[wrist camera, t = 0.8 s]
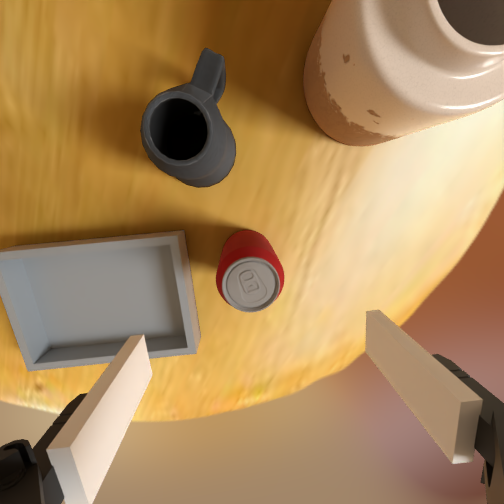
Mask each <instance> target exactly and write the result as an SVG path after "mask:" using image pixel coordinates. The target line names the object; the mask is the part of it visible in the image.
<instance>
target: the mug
mask: <svg viewBox="0 0 504 504" xmlns="http://www.w3.org/2000/svg"><path fill="white" fill-rule="evenodd" d="M225 82H226V71H225V60H224V57H223V56H222V55H220V54H217V53H214V52H213V51H212V50H210V49H208V48H204V50H203V51H202V53H201V56H200V58H199V60H198V63H197V65H196V68H195V71H194V74H193V77H192V80H191V82H190V83H186V84H183V85H180V86H177V87H173V88H170V89H168V90H166V91H164V92H161V93H159V94H158V95H157V96H156V97H155V98H154V99H153V100H152V101H151V102H150V103H149V104H148V106H147V108H146V110H145V112H144V114H143V116H142V122H141V130H140V131H141V137H142V143H143V146H144V148H145V151H146V153H147V155H148V157H149V158H150V160H151V161H152V162H153V163H154V164H155V165H156V166H157V167H158V168H159V169H160V170H162V171H163V172H165V173H167V174H168V175H170V176H174V177H176V178H177V179H178V180H180V181H182V182H183V183H185V184H186V185H190V186H194V187H198V188H199V187H210V186H212V185H215V184H217V183H219V182H220V181H222V180H223V179H224V178H225V177H226V176H227V175H228V174H229V172H230V170H231V169H232V167H233V165H234V161H235V157H236V144H235V139H234V137H233V134H232V131H231V129H230V128H229V127H228V125H227V124H226V123H225V121H224V120H223V119H222V116H221V114H220V111H219V109H218V107H217V105H216V104H217V103H218V101H219V100H220V98H221V96H222V94H223V92H224V89H225Z"/></svg>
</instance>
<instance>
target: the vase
mask: <svg viewBox="0 0 504 504" xmlns="http://www.w3.org/2000/svg"><path fill="white" fill-rule="evenodd" d="M303 84H304V93H305V98H306V102H307V105H308V108H309V111H310V113H311V115H312V117H313V118H314V120H315V122H316V123H317V124H318V126H319V127H320V128H321V129H322V130H323V131H324V132H325V133H326V134H327V135H329V136H330V137H331V138H333V139H335V140H337V141H339V142H341V143H344V144H347V145H352V146H371V145H376V144H380V143H383V142H386V141H390V140H393V139H396V138H399V137H402V136H406V135H409V134H412V133H415V132H418V131H421V130H425V129H428V128H431V127H434V126H437V125H441V124H444V123H447V122H450V121H453V120H456V119H460V118H463V117H466V116H468V115H471V114H474V113H477V112H479V111H482V110H484V109H486V108H488V107H491V106H492V105H494V104H496V103H498V102H500V101H501V100H503V99H504V0H332V1H331V3H330V5H329V7H328V9H327V11H326V13H325V15H324V17H323V20H322V22H321V24H320V26H319V28H318V30H317V32H316V34H315V36H314V38H313V40H312V42H311V45H310V48H309V50H308V53H307V57H306V61H305V66H304V76H303Z"/></svg>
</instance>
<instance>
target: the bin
mask: <svg viewBox="0 0 504 504" xmlns="http://www.w3.org/2000/svg"><path fill="white" fill-rule="evenodd" d="M0 295H1V298H2V301H3V303H4V306H5V309H6V312H7V315H8V317H9V320H10V323H11V326H12V328H13V331H14V334H15V337H16V340H17V342H18V345H19V348H20V351H21V353H22V356H23V359H24V362H25V365H26V367H27V370H28V371H37V370H46V369H56V368H65V367H75V366H84V365H93V364H103V363H111V361H112V360H113V359H114V357H115V356H116V355H117V353H118V352H119V351H120V349H121V348H122V347H123V345H124V344H125V343H126V341H127V340H128V339H129V337H130V336H134V335H143V334H144V338H145V342H146V347H147V352H148V356H149V359H150V358H160V357H169V356H179V355H188V354H196V353H197V349H198V346H199V342H200V338H201V334H200V328H199V321H198V315H197V308H196V302H195V296H194V289H193V283H192V276H191V270H190V263H189V257H188V250H187V244H186V237H185V231H184V230H179V231H168V232H157V233H147V234H136V235H125V236H114V237H104V238H93V239H82V240H72V241H61V242H50V243H39V244H29V245H18V246H12V247H9V248H5V249H1V250H0Z"/></svg>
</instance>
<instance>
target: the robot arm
mask: <svg viewBox="0 0 504 504" xmlns="http://www.w3.org/2000/svg"><path fill="white" fill-rule="evenodd" d="M365 352H366V353H367V354H368V356H369V357H370V358H371V359H372V361H373V362H374V363H375V365H376V366H377V367H378V369H379V370H380V371H381V372H382V373H383V375H384V376H385V378H386V379H387V380H388V381H389V383H390V384H391V385H392V387H393V388H394V389H395V390H396V392H397V393H398V394H399V396H400V397H401V398H402V400H403V401H404V402H405V403H406V405H407V406H408V407H409V409H410V410H411V411H412V412H413V414H414V415H415V416H416V418H417V419H418V420H419V421H420V423H421V424H422V425H423V427H424V428H425V429H426V430H427V432H428V433H429V434H430V436H431V437H432V438H433V440H434V441H435V442H436V443H437V445H438V446H439V447H440V449H441V450H442V451H443V452H444V454H445V455H446V456H447V458H448V459H449V460H450V461H451V463H452V464H456V463H465V462H472V461H473V457H474V451H475V449H476V450H477V451H478V452H479V453H480V454H481V455H482V456H483V458H484V459H485V461H484V466H483V472H482V478H481V483H483V484H485V487H486V499H487V504H504V403H503V402H501V401H500V400H499V399H498V398H497V397H495V396H494V395H493V394H492V393H490V392H489V391H488V390H487V389H485V388H484V387H483V386H482V385H480V384H479V383H478V382H477V381H476V380H474V379H473V378H470V376H469V375H468V374H467V373H466V372H464V371H462V370H461V368H459V367H458V366H457V365H456V364H455V363H453V362H452V361H451V360H449V359H447V358H445V357H443V356H441V355H439V354H435V355H431V354H429V353H428V352H427V351H426V350H425V349H424V348H423V347H421V346H420V345H419V344H418V343H417V342H416V341H414V340H413V339H412V338H411V337H410V336H409V335H407V334H406V333H405V332H404V331H403V330H402V329H401V328H399V327H398V326H397V325H396V324H395V323H394V322H392V321H391V320H390V319H389V318H388V317H387V316H386V315H384V314H383V313H382V312H381V311H380V310H373V311H366V348H365ZM151 377H152V370H151V365H150V361H149V356H148V352H147V347H146V342H145V338H144V334H143V335H134V336H130V337H129V339H128V340H127V341H126V343H125V344H124V345H123V347H122V348H121V349H120V351H119V352H118V353H117V355H116V356H115V357H114V359H113V360H112V361H111V363H110V364H109V366H108V367H107V368H106V370H105V371H104V372H103V374H102V375H101V376H100V378H99V379H98V380H97V382H96V383H95V384H94V386H93V387H92V388H91V390H90V391H89V392H88V393H85V394H80V395H78V396H77V397H76V398H75V399H74V400H72V401H71V402H70V403H69V404H68V405H67V406H66V407H65V409H64V410H63V411H62V412H61V414H60V416H59V417H58V418H57V419H56V420H55V421H54V422H53V425H52V426H50V428H49V429H48V430H47V431H46V433H45V434H44V435H43V436H42V438H41V439H40V440H39V441H38V443H37V444H36V445H35V446H34V448H33V449H32V448H31V445H30V443H29V441H28V440H24V439H21V440H16V441H12V442H10V443H8V444H5V445H3V446H2V447H0V504H61V503H62V501H63V499H64V500H65V503H66V504H92V503H93V501H94V499H95V497H96V495H97V492H98V490H99V488H100V486H101V484H102V482H103V480H104V477H105V475H106V473H107V471H108V469H109V466H110V464H111V462H112V460H113V458H114V456H115V454H116V452H117V450H118V447H119V445H120V443H121V441H122V439H123V437H124V435H125V433H126V430H127V428H128V426H129V424H130V422H131V420H132V418H133V415H134V413H135V411H136V409H137V407H138V405H139V403H140V400H141V398H142V396H143V394H144V392H145V390H146V388H147V385H148V383H149V381H150V379H151Z"/></svg>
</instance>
